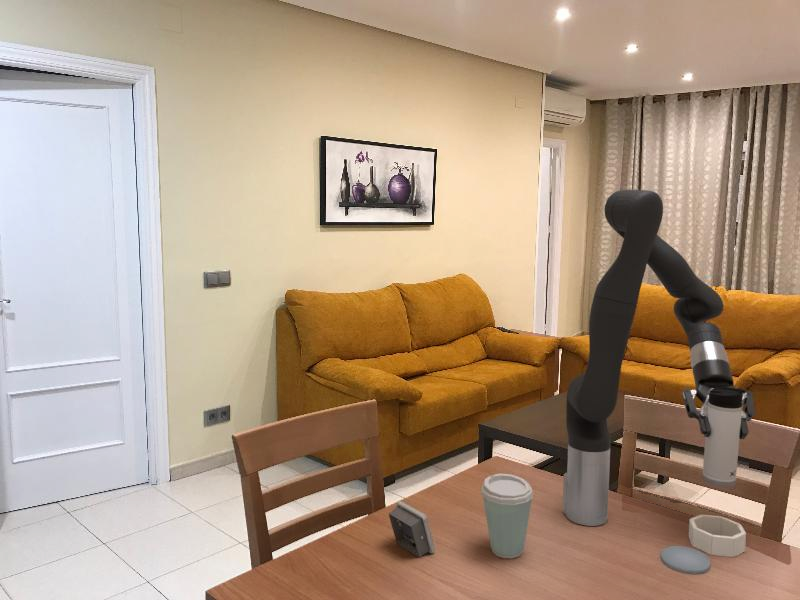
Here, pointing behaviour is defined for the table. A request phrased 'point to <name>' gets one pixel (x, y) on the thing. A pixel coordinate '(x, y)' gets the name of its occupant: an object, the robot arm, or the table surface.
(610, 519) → the table surface
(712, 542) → the collar
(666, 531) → the table surface
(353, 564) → the table surface
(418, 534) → the electrical switch
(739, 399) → the travel mug
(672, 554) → the coaster
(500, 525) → the disposable coffee cup
